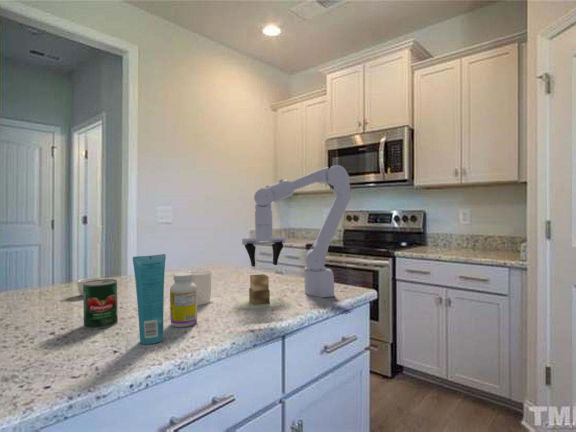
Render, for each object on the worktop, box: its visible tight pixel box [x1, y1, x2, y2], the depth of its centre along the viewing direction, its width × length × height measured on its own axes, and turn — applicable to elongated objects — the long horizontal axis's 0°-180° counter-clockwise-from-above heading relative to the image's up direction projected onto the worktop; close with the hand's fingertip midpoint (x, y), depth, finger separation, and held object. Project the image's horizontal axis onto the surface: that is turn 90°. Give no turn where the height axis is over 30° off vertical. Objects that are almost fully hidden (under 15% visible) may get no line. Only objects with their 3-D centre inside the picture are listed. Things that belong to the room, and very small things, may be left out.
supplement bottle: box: [169, 272, 198, 328], centre depth 95 cm, size 7×7×13 cm
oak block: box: [249, 273, 270, 291], centre depth 113 cm, size 4×4×4 cm
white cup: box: [186, 270, 212, 306], centre depth 114 cm, size 8×8×10 cm
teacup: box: [77, 277, 103, 297], centre depth 131 cm, size 10×8×5 cm
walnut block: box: [248, 287, 271, 305], centre depth 113 cm, size 5×5×4 cm
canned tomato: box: [82, 278, 119, 330], centre depth 96 cm, size 8×8×11 cm
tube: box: [132, 253, 167, 345], centre depth 83 cm, size 7×5×19 cm, turn 140°
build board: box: [235, 295, 285, 310], centre depth 113 cm, size 12×12×1 cm
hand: (264, 265), depth 125 cm, fingers open, 7 cm apart
